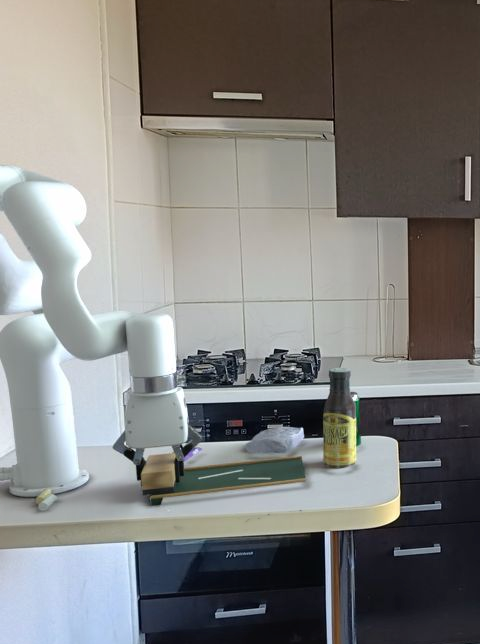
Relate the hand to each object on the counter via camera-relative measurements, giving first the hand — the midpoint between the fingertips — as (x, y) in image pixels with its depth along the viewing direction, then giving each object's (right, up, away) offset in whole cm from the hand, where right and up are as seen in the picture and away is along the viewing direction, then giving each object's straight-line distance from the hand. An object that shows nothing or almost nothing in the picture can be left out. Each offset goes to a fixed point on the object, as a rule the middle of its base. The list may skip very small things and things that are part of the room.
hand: (161, 480), depth 135 cm
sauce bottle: (+30, 0, +11) cm, 32 cm away
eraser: (0, -1, 0) cm, 1 cm away
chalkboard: (+11, -1, +4) cm, 12 cm away
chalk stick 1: (-19, -2, -4) cm, 19 cm away
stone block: (+13, +2, +23) cm, 27 cm away
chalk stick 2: (-17, -2, -7) cm, 18 cm away
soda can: (+29, +2, +23) cm, 37 cm away
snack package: (-3, 0, +16) cm, 16 cm away
